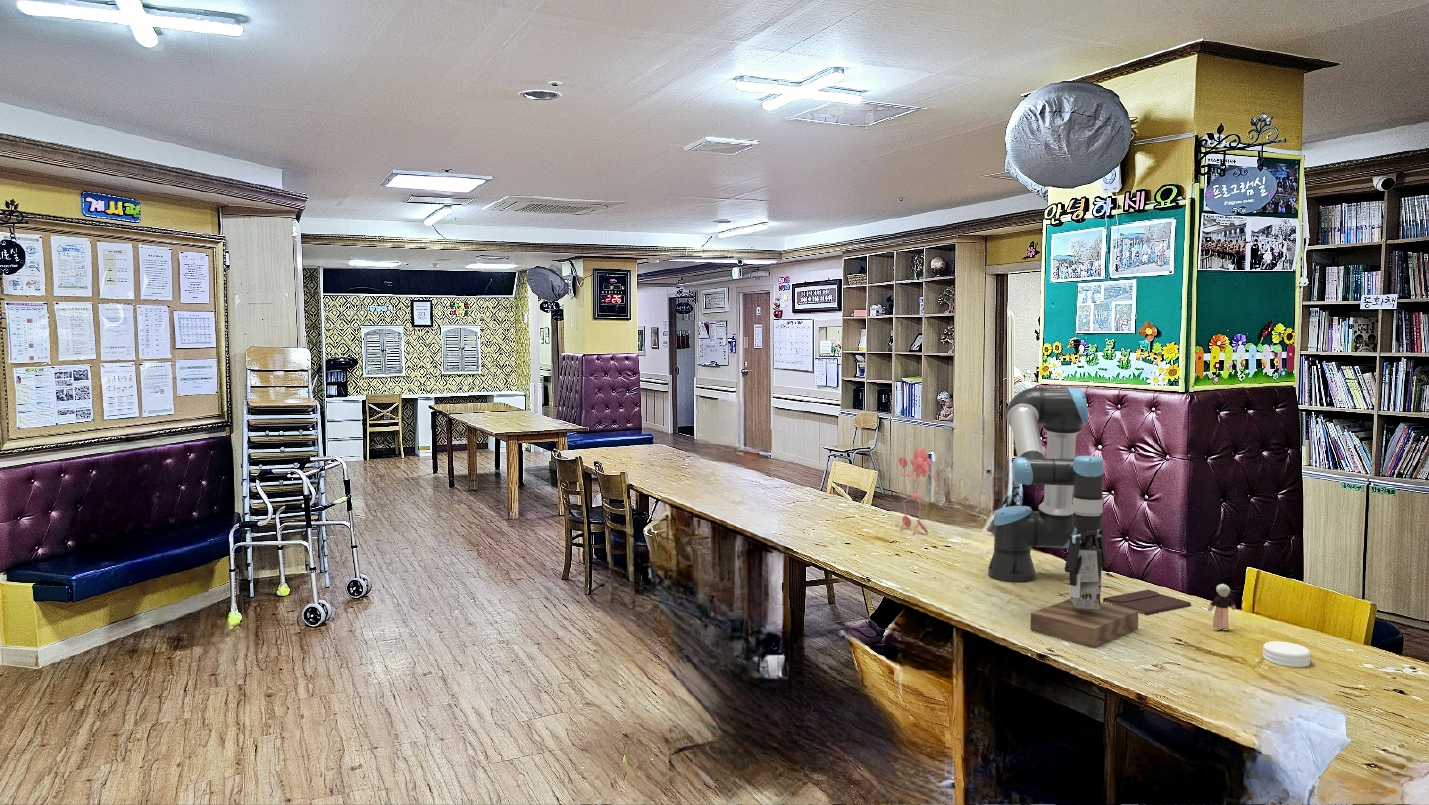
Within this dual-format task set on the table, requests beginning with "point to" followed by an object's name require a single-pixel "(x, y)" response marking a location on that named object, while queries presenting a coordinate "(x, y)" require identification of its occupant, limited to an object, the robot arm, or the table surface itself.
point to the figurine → (919, 467)
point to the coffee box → (1089, 579)
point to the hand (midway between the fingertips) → (1085, 593)
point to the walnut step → (1084, 622)
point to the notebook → (1147, 602)
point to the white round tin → (1286, 654)
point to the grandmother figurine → (1221, 607)
